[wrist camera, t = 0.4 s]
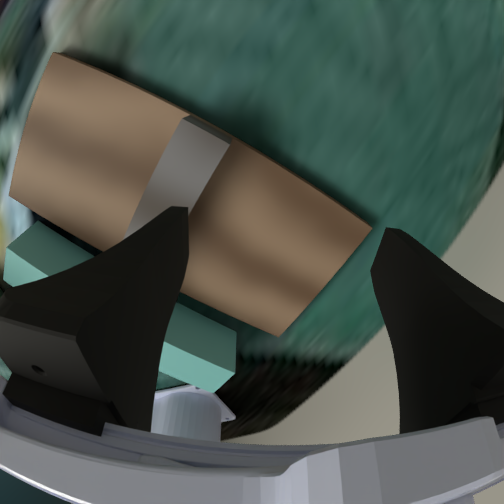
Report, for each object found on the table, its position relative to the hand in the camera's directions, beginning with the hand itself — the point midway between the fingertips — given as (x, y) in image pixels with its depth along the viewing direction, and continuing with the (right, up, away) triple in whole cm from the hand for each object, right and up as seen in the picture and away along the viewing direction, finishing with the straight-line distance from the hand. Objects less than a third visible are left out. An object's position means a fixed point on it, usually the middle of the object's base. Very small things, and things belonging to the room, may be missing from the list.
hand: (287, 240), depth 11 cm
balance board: (-7, +3, +10) cm, 13 cm away
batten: (-12, -4, +14) cm, 19 cm away
